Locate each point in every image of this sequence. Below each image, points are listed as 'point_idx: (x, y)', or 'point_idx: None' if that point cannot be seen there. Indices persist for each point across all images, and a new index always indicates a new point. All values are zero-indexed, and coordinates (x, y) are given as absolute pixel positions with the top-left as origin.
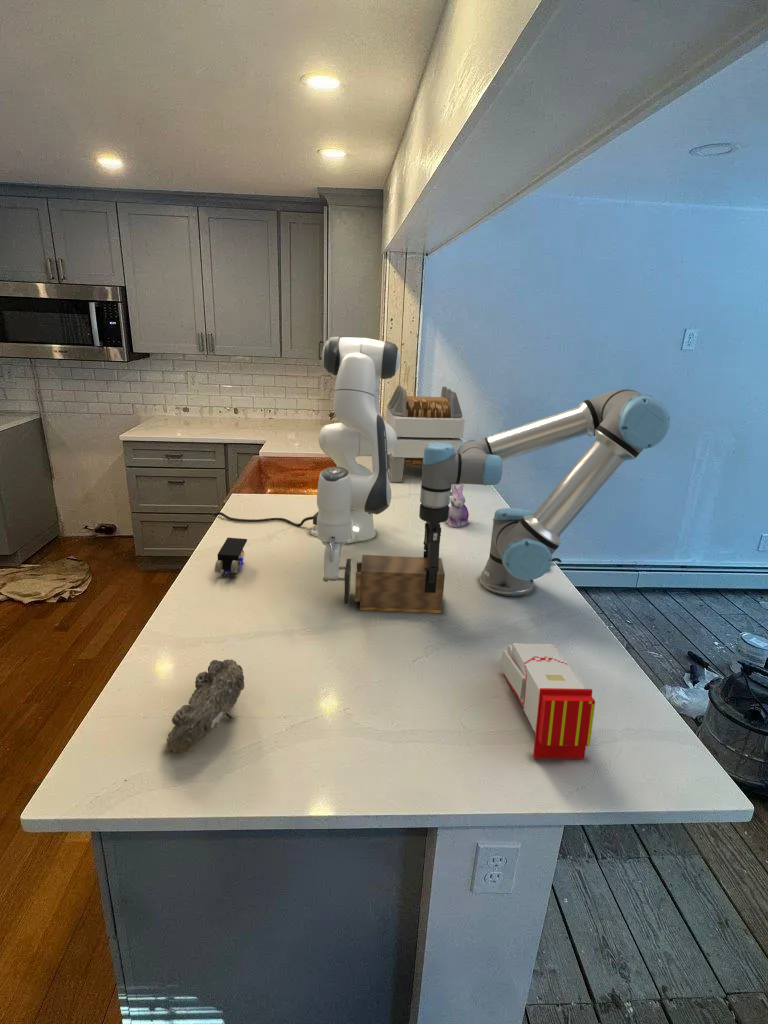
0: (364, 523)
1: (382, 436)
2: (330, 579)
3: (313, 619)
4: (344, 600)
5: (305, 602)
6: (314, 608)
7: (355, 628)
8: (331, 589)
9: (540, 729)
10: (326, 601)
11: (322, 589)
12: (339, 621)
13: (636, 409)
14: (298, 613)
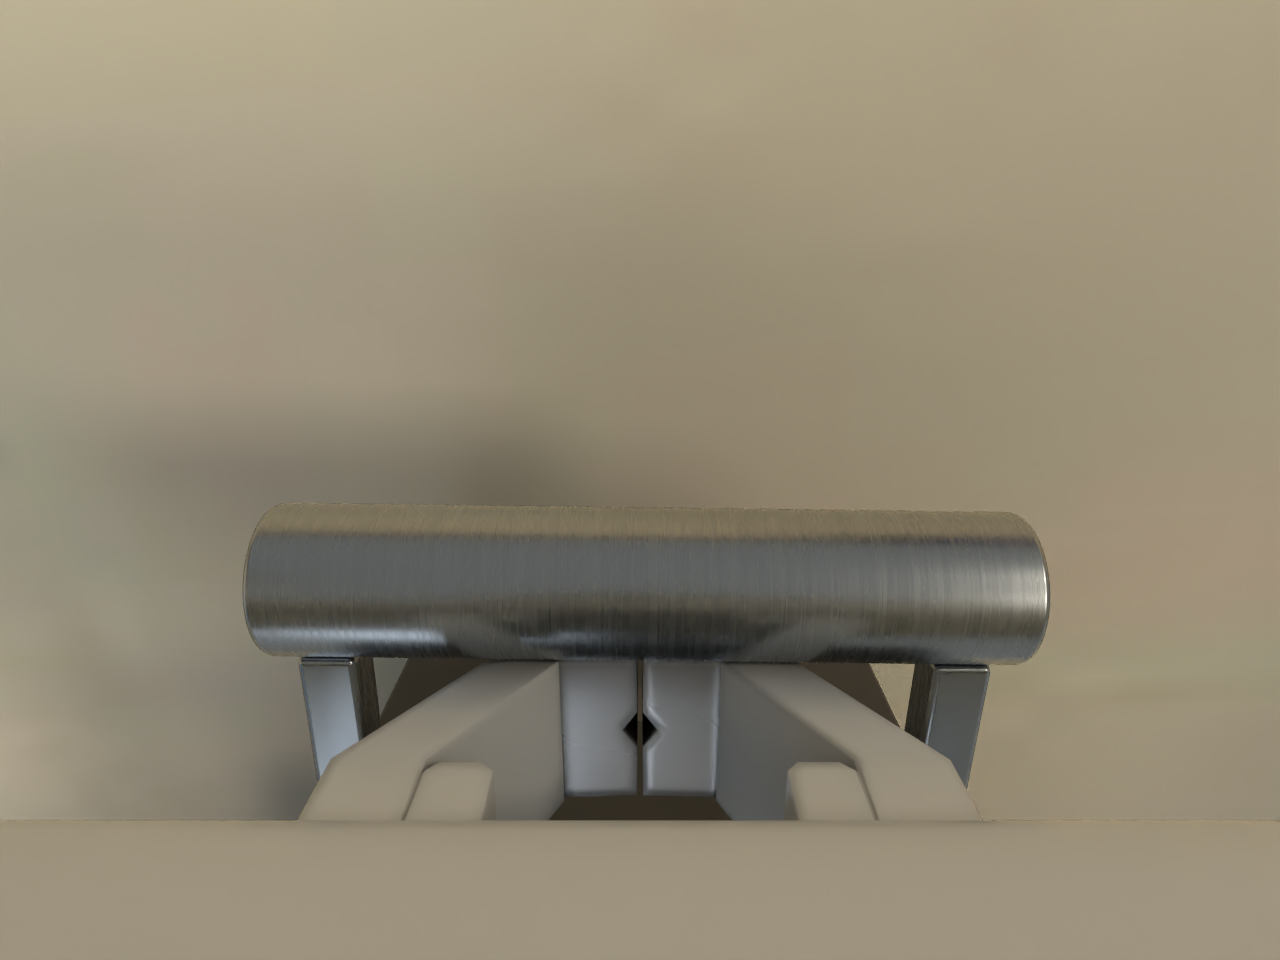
0: None
1: None
2: (307, 675)
3: (58, 261)
4: (402, 677)
5: (514, 78)
6: (357, 243)
7: (20, 740)
8: (926, 432)
9: None
10: (576, 392)
11: (933, 305)
12: (110, 580)
13: None
14: (158, 3)
